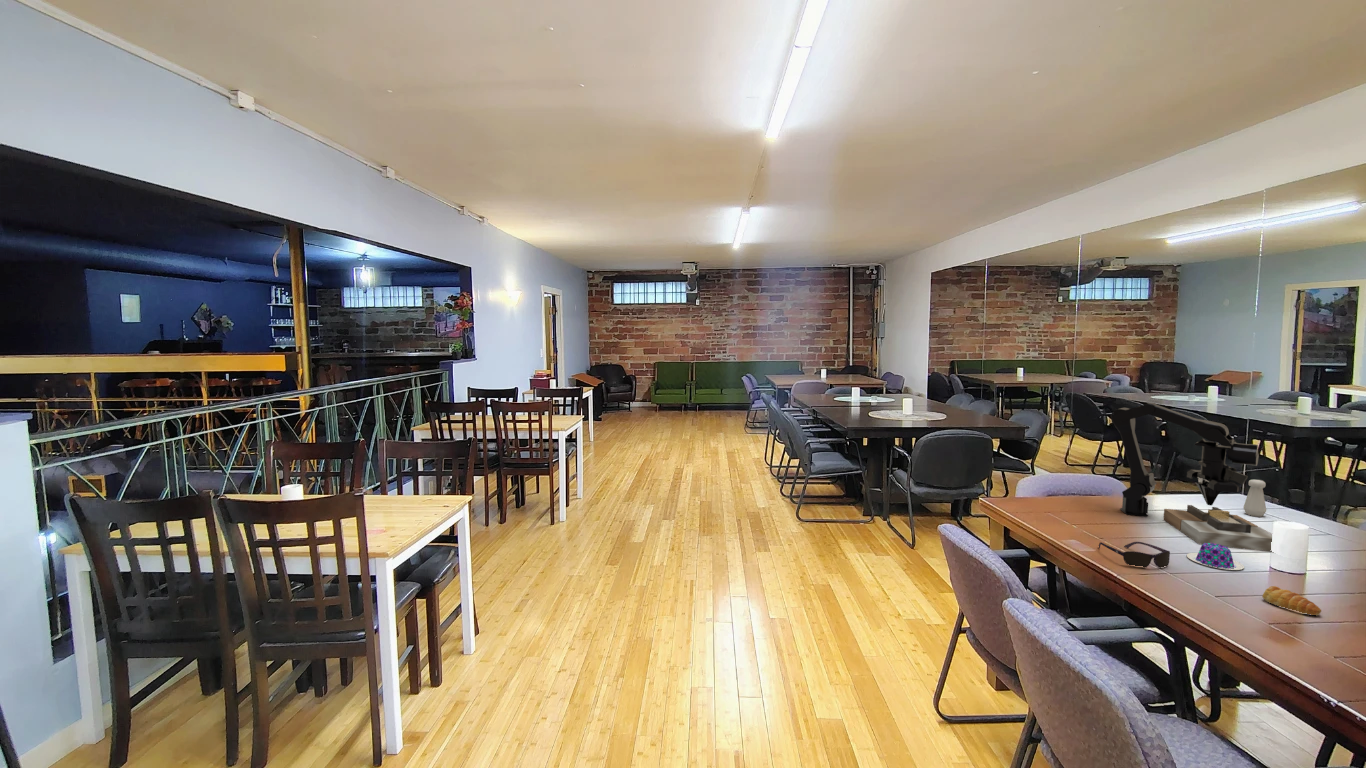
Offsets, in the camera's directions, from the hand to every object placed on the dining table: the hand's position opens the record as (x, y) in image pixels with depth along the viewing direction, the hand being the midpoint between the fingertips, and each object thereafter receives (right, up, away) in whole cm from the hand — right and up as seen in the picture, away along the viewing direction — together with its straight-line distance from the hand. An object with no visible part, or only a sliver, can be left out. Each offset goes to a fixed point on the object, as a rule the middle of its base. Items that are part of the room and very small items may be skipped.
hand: (1209, 505), depth 184 cm
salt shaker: (+29, -7, +13) cm, 33 cm away
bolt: (-3, -5, -8) cm, 10 cm away
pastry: (-31, -14, -52) cm, 62 cm away
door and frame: (-2, -9, -5) cm, 11 cm away
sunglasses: (-46, -11, -23) cm, 52 cm away
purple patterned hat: (-25, -11, -27) cm, 38 cm away
